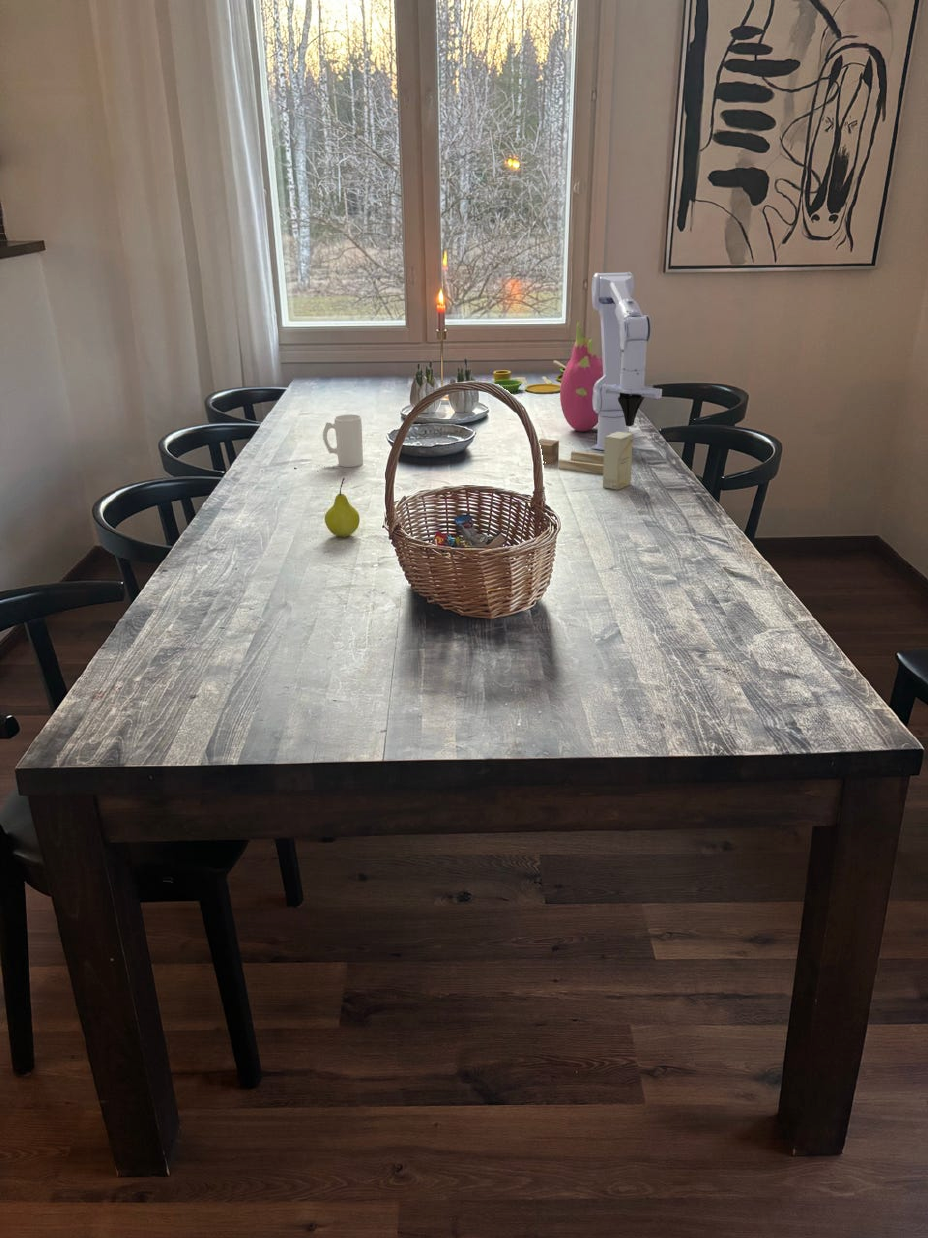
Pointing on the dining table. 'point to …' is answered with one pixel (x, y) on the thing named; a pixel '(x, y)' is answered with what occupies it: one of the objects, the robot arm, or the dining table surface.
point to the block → (549, 450)
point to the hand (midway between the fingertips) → (629, 425)
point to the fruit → (342, 517)
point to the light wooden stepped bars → (583, 465)
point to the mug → (346, 439)
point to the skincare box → (617, 460)
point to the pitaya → (580, 385)
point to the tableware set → (513, 385)
